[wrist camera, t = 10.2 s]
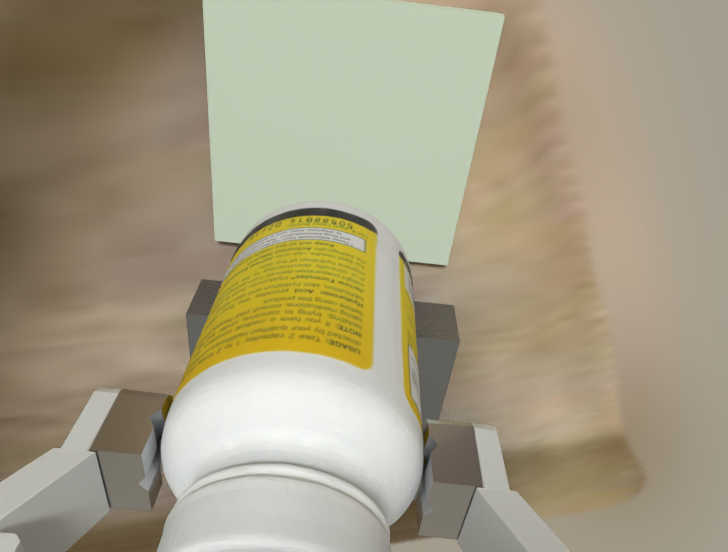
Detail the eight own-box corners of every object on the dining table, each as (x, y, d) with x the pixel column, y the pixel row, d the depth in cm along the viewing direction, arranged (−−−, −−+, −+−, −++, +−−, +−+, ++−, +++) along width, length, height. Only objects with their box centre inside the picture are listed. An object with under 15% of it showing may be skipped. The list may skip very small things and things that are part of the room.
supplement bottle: (197, 266, 17) (28, 594, 9) (328, 157, 15) (263, 453, 7) (319, 368, 19) (271, 708, 11) (447, 286, 17) (505, 627, 9)
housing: (201, 279, 31) (186, 313, 28) (453, 305, 31) (459, 341, 29) (213, 443, 39) (201, 481, 36) (414, 462, 39) (416, 501, 37)
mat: (205, -24, 22) (201, -22, 22) (502, 13, 23) (504, 15, 22) (217, 234, 29) (214, 240, 29) (446, 259, 30) (447, 265, 29)
